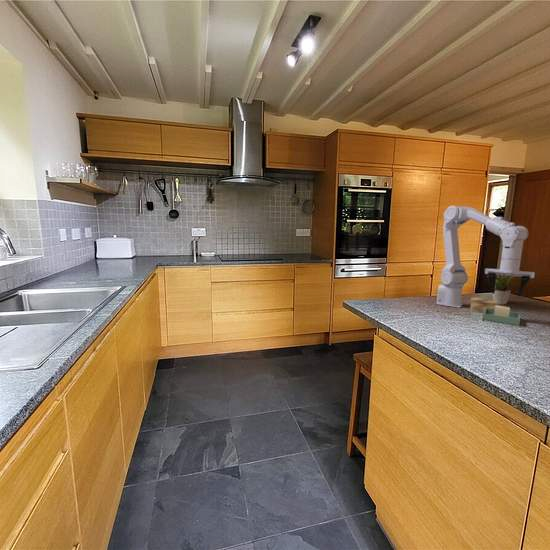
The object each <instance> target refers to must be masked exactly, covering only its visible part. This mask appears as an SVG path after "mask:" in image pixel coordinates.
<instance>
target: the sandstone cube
mask: <svg viewBox="0 0 550 550" xmlns="http://www.w3.org/2000/svg"><path fill="white" fill-rule="evenodd" d="M510 311H511V307H510V306H506V305H505V306H504V305H499V304H496V305H495V310H494V315H497V316H503V317H509V312H510Z"/></svg>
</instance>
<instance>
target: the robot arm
mask: <svg viewBox="0 0 550 550" xmlns="http://www.w3.org/2000/svg"><path fill="white" fill-rule="evenodd" d="M443 220H444V221H443V225H442V230H443V231H442V232H443V241H444V242H443V243H444V251H445V252H444V253H445V266H444V267H443V268H442V269H441V276H440V280H441V282H442V284H438V289H437V296H436V305H439V306H446V307H453V308H459V309H460V308H461V307H462V306H463V303H462V296H463V289H464V288H463V287H464V286H465V284H467V282H468V280H469V276H468V273H467V272H466V267H465V266H464V265H463V264H462V263H461V262H462V261H461V255H460V254H461V253H460V243H459V235H458V233H459V232H458V230H459V228H460V227H461V226H463V225H464V224H465V223H467V222H469V220H472V221H475V222H477V223H479V224H481V225H484V226H485V229H486V230H487V231H488V232H490V233H492V234H494V235H496V236H499V237H500V239H501V240H502V243H501V244H502V249H501V250H502V251H501V257H500V258H501V259H500V265H499V268H485V269H484V274H485V275H487V278H488V279H489V280H488V281H489V283H490V286H491V294H492V293H495V288H496V286H495V282H497V280H496V276H498V275H501V276H503V275H507V276H509V277H510V276H513V277H514V276H517V277H520V281H519V288H518V291H517V297H519V298H520V297H521V295H522V292H523V290H524V289H525V287H526V285H527V284H528V283H529V281H530V280H531V279H534V278H535V272H534V271H526V270H525V271H523V270H520V267H521V260H522V252H523V248H524V247H523V246H524V242H525V240H526V239H528V237H529V231H528V229H527V228H526V227H525V226H523V225H516V223H515V222H510V221H507V220H505V219H504V217H503V216H494V217H490V216H488V215H487V214H485V213H483V212H481V211H479V210H477V209H476V208H475V207H471V206H460V205H459V206H457V205H451V206H450V205H449V206H448V207H447V208H446V210H445V211H444V212H443ZM503 273H504V274H503ZM507 273H508V274H507Z"/></svg>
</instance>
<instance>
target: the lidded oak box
mask: <svg viewBox="0 0 550 550" xmlns="http://www.w3.org/2000/svg"><path fill="white" fill-rule="evenodd" d="M497 301H498V300H493V298H492V299H491V298H483V297H474V296H472V297H470V306H469V307H470V309H469V311H470V312H475V311H476V313H481V312H482V314H483V313H484V310H485V308H491V309H495V305H498V304H497Z"/></svg>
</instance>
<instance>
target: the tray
mask: <svg viewBox="0 0 550 550" xmlns="http://www.w3.org/2000/svg"><path fill="white" fill-rule="evenodd" d="M494 310H495V309H491V308H485V310H484V313H482V319H481V320H482V321H486V320H487V321H488V322H493V323H498V324H504V325H511V326H515V325H516V327H520V322H521V312H516V311H511V310H510V312H509V317H503V316H497V315H494Z"/></svg>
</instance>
